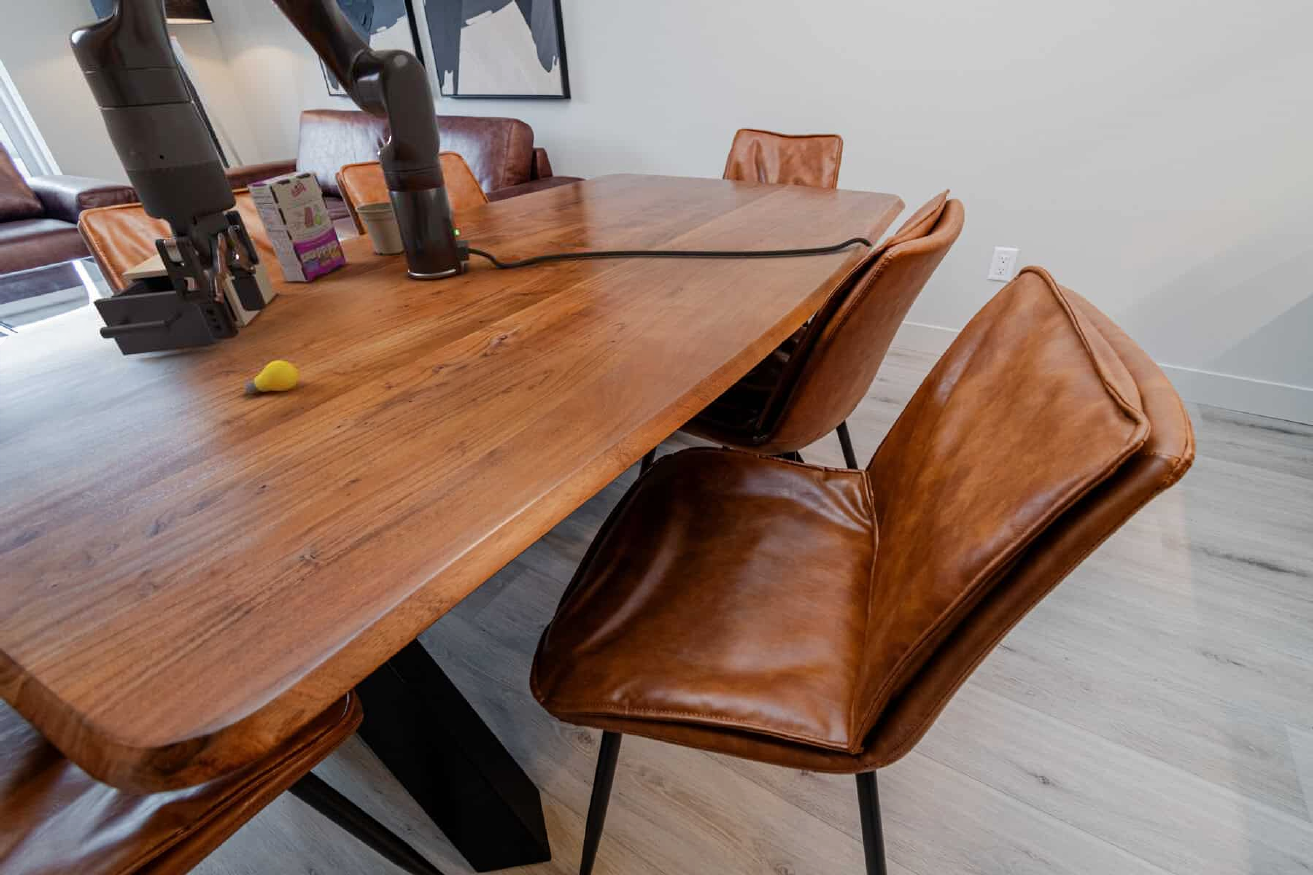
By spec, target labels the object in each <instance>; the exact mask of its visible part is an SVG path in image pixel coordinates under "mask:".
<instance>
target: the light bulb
mask: <svg viewBox="0 0 1313 875" xmlns="http://www.w3.org/2000/svg"><path fill="white" fill-rule="evenodd" d="M298 381H299V372H298V370H297V368H296V367H295V366H294V365H293V364H292V363H290V362H288V361H285V360H274V361H271V362H269V363H268V364H266V366H265V367H264V369H263V370H262V371H261V372H260V373H259V374H258V375H256V377H254V379H253V380H250V381H249V382H246V383H245V386H244V391H245V392H246V393H249V394H251V395H255V394H257V393H259V392H269V391H273V392H286V391H290V390H291V389H293V388H294V387H295V386H296V384H297V383H298Z"/></svg>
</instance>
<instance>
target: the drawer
mask: <svg viewBox="0 0 1313 875" xmlns="http://www.w3.org/2000/svg"><path fill="white" fill-rule="evenodd" d="M183 280H184V282H185V284H186V286H187V289H188V291H189V285H188V280H186V279H184V278H183ZM208 283H209V285H210V288H211V282H208ZM223 294H224V300H226V303H227V305H228V307H229V310H230V312H231V314H232V316H233V318H234V317H235V314H234V311H233V309H232V307H231V305H230V302H229V300H228V298H227V296H226V293H225V291H224V289H223ZM92 304H94V307H95V308H96V310H97V311H98V314H99V315H100V317H101V318H102V321H103V322H104V324H105V326H102V327H100V328H99V334H100V336H101V338H102V339H104V340H109V339H113V340H114V342H115V343H116V345H117V346H118V349H119V350H120V352H121V353H122V355H123V356H132V355H140V354H148V353H154V352H155V353H156V352H164V351H173V350H180V349H181V350H182V349H190V348H197V347H205V346H212V345H216V344H217V343H218V342H219V341H218V340H219V339H216V338H214V337H213V335H212V333H211V331H210V329H209V327H208V325H207V322H206V320H205V318H204V316H203V314H202V312H201V310H200V307H199V306H198V305H194V304H182V303H181V301H180V300H179V297H178V295H177V293H176V291H175V289H174V286H173V284H172V282H171V280H170V277H169V275H166V276H156V277H146V278H141V279H139V280H137V281H136V282H134V283H132V284H131V285H129V286H128V285H126V286H125V287H124V288H123V289H121V290H119V291H117V292H115V293H114V294H112V295H111V296H110V297H104V298H98V299H95V300H94V301H93V303H92Z"/></svg>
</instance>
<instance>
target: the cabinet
mask: <svg viewBox="0 0 1313 875" xmlns="http://www.w3.org/2000/svg"><path fill="white" fill-rule="evenodd" d="M250 240H251V242H252V244H253V247H254V249H255V252H256V254H257V256H258V258H259V264H258V265H254V266H255V269H256V274H255V275H253V276H255V279H256V281H257V284H258V286H259V289H260V291H261V293H262V296H263V298H264V301H265V303H266V305H268V303H269V302H270V301H271V300H272V299H273V298H274V297H275V296H276V292H275V289H274V286H273V283H272V281H271V279H270V277H269V274H268V271H267V269H266V266H265V264H264V262H263V259H262V257H261V254H260V251H259V249H258V247H257V244H256V242H255V239H254V238H250ZM166 275H168V273H167V271H166V268H165V266H164V264H163V262H162V259H161V257H160V255H159V253H158V252H157V254H155V255H152V256H151V257H150V258H148V259H145V260H144V261H142V262H141V263H139V264H137V265H135V266H133V267H132V268H130V269H128V270H126V271H125V272H123V273H121V276H122V278H123V280H124V281H125V283H126V286H129V285H131V284H132V283H134V282H136V281H137V280H139V279H141V278H146V277H156V276H166ZM232 278H235V277H230V276H229V275H228V274H227V278H226V279H225V280H224V281H223V282H222V286H223V289H224V291H225V293H226V296H227V298H228V300H229V302H230V305H231V307H232V309H233V311H234V314H235V317H234V318H233V319H234V321H235V323H236V325H237V328H239V327H246V326H247V325H248V324H249V323H250V322H251V321H252V320H253V319H254V318H255V317H256V316H257V314H259V313H260V312H261V310H258V311H249V312H248V311H245V310H244V309H243V307H242V305H241V303H240V300H239V298H238V296H237V293H236V291H235V289H234V286H233V284H232V282H231V279H232Z"/></svg>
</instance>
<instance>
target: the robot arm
mask: <svg viewBox="0 0 1313 875" xmlns="http://www.w3.org/2000/svg"><path fill="white" fill-rule="evenodd" d="M270 1H271V2H272V3H273V4H274V5H275V7H276V8H277V9H278V10H279V12H281V13H282V15H283V16H284V17H285V18H286V19H287V21H288V22H289V23H290V24H291V25H292V27H293V28H295V30H296V31H297V32H298V33H299V34H300V35H301V37H303V39H304V40H305V41H306V42H307V43H308V44H309V46H310V47H311V48H312V49H313V51H314V52H315V53H316V54H317V56H318V57H319V58H320V60H321V61H322V62H323V64H324V65H325V66H326V68H327V69H328V70H329V72H330V73H331V75H332V76H333V77H334V79H335V80H336V81H337V82H338V84H339V86H341V88H342V89H343V91H344V92H345V94H346V95H347V96H348V97H349V98H350V99H351V101H352V102H353V103H354V105H356V106H357V108H359V109H360V110H361V111H362V112H363V113H364V114H365V115H367V116H369V117H371V118H373V119H376V120H380V121H388V128H389V134H390V135H389V140H388V142H387V143H386V144H385V145H384V146H382V147H381V148H380V149H379V150H378V152H377V158H378V162H379V167H380V169H381V173H382V176H383V180H384V184H385V189H386V191H387V195H388V199H389V201H390V203H391V207H392V210H393V214H394V218H395V221H396V225H397V229H398V233H399V236H400V240H401V244H402V247H403V251H402V252H403V254H404V258H405V261H406V267H407V269H408V274H409V277H410V278H413V279H417V280H436V279H441V278H442V279H443V278H447V277H451V276H454V275H458V274H460V275H461V274H463V273H464V269H465V262H468V261H470V257H471V255H476V256H479V257H483V258H486V259H488V260H489V261H490V262H491V263H492V264H493V265H494V266H496V267H498V268H502V269H513V268H514V269H515V268H519V267H524V266H528V265H531V264H535V263H538V262H546V261H555V260H556V261H557V260H565V259H566V260H567V259H578V258H579V259H581V258H596V257H599V258H600V257H627V256H629V257H630V256H634V257H635V256H638V257H639V256H641V257H642V256H643V257H644V256H648V257H649V256H653V257H654V256H658V257H659V256H661V257H662V256H663V257H664V256H665V257H669V256H670V257H672V256H673V257H677V256H678V257H777V256H778V257H779V256H795V255H796V256H797V255H813V254H823V253H825V254H826V253H832V252H836V251H839V250H842V249H845V248H847V247H849V246H851V245H854V244H857V243H860V244H862V245H864V246H865V247H867V248H871V247H873V245H872V244H871V242H870V241H869V239H866V238H864V237H854V238H851V239H848V240H846V241H844V242H842V243H839V244H837V245H833V246H832V245H831V246H824V247H815V248H800V249H782V250H781V249H779V250H745V251H744V250H742V251H741V250H740V251H739V250H738V251H733V250H732V251H731V250H730V251H729V250H726V251H725V250H724V251H723V250H606V251H604V250H603V251H602V250H601V251H583V252H571V253H570V252H569V253H557V254H548V255H547V254H546V255H540V256H539V255H538V256H535V257H531V258H528V259H525V260H522V261H518V262H513V263H508V262H507V263H505V262H501V261H499V260H497V258H495V256H493V254H490V253H488V252H486V251H483V250H479V249H475V248H471V247H470V246H469V242H468V240H467V239H466V240H460V238H459V230H458V228H457V223H456V220H455V215H454V211H453V210H452V209H451V205H450V204H451V203H450V200H449V194H448V191H447V185H446V182H445V177H444V173H443V168H442V164H441V158H440V150H441V135H440V128H439V126H438V125H439V124H438V119H437V112H436V105H435V99H434V94H433V90H432V86H431V82H430V80H429V76H428V73H427V71H426V69H425V67H424V65H423V64H422V62H421V61H420V60H419V59H418V58H417V57H416V56H415V55H414V54H413V53H412V52H409V51H408V50H405V49H397V48H396V49H395V48H394V49H378V50H374V49H373V48H372V47H370V45H369V44H368V43H367V42H366V41H365V39H364V38H362V36H360V34H359V33H358V31H357V30H356V29H355V27H353V25H352V24H351V23H350V22H349V20H348V19H347V18H346V16H345V15H344V13H343V11H342V10H341V8H340V5H339V4H338V3H337V0H270ZM165 6H166V5H165V0H115V2H114V7H113V11H112V12H111V14H110V15H109V16H108V17H106V18H104V19H101V20H98V21H94V22H91V23H87V24H84V25H81V26H78V27H75V28H74V29H72V30H71V31H70V33H69V36H68V41H69V45H70V48H71V51H72V54H73V56H74V58H75V60H76V62H77V65H78V66H79V69H80V71H81V72H82V75H83V77H84V79H85V81H86V83H87V85H88V87H89V90H90V92H91V94H92V96H93V98H94V100H95V102H96V104H97V107H99V111H100V113H101V116H102V119H103V122H104V125H105V129H106V131H107V135H108V137H109V139H110V141H111V144H112V146H113V148H114V150H115V152H116V154H117V156H118V158H119V161H120V163H121V165H122V166H123V169H124V171H125V173H126V175H127V178H128V180H129V181H130V184H131V186H132V188H133V191H134V192H135V194H136V196H137V198H138V200H139V202H140V205H141V207H142V209H143V211H144V213H145V214H146V215H147V216H148V217H149V218H152V219H154V220H163V221H166V223H168V225H169V229H170V231H171V236H172V237H168V238H159V239H158V238H157V239H155V240H154V246H155V248H156V251H157V254H158V253H159V255H160V257H161V259H162V262H163V264H164V266H165V268H166V271H167V273H168V275H169V277H170V280H171V282H172V284H173V286H174V289H175V291H176V293H177V295H178V297H179V300H180V301H181V303H182V304H194V305H198V306H199V307H200V310H201V312H202V314H203V316H204V318H205V320H206V322H207V325H208V327H209V329H210V331H211V333H212V335H213V337H214V338H216V339H217V340H226V339H234V338H236V337H237V336H238V335H239V334H240V330H239V327H237V325H236V323H235V321H234V319H233V316H232V314H231V312H230V310H229V307H228V305H227V303H226V300H224V294H223V286H222V282H223V281H224V280H225V279H226V278H227V274H228V275H229V276H230V277H235V278H232V279H231V282H232V284H233V286H234V289H235V291H236V293H237V296H238V298H239V300H240V303H241V305H242V307H243V309H244V310H245V311H248V312H249V311H258V310H260V311H262V310H264V309H265V308H266V306H267V304H266V303H265V301H264V298H263V296H262V293H261V291H260V289H259V286H258V284H257V281H256V279H255V276H253V275H255V274H256V269H255V266H254V265H258V264H259V258H258V256H257V254H256V252H255V249H254V247H253V244H252V242H251V240H250V239H251V238H250V235H249V233H248V231H247V227H246V225H245V223H244V221H243V219H242V217H241V216H242V215H241V213H240V212H239V211H238V209H237V210H236V209H233V208H235V207H236V205H237V199H236V197H235V194H234V192H233V189H232V187H231V184H230V180H228V176H227V174H226V172H225V169H224V166H223V164H222V162H221V159H220V156H219V154H218V151H217V149H216V147H215V143H214V141H213V139H212V136H211V133H210V130H209V129H208V127H207V125H206V123H205V121H204V119H203V117H202V115H201V114H200V112H199V110H198V108H197V106H196V103H195V102H194V99H193V97H192V94H191V92H190V90H189V87H188V84H187V81H186V79H185V77H184V74H183V71H182V69H181V68H180V64H179V61H178V59H177V56H176V52H175V50H174V47H173V43H172V38H171V33H170V29H169V24H168V18H167V11H166V7H165ZM231 209H233V210H231ZM183 278H184V279H186V280H188V285H189V291H188V289H187V286H186V284H185V282H184V280H183ZM208 282H211V288H210V285H209V283H208Z"/></svg>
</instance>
